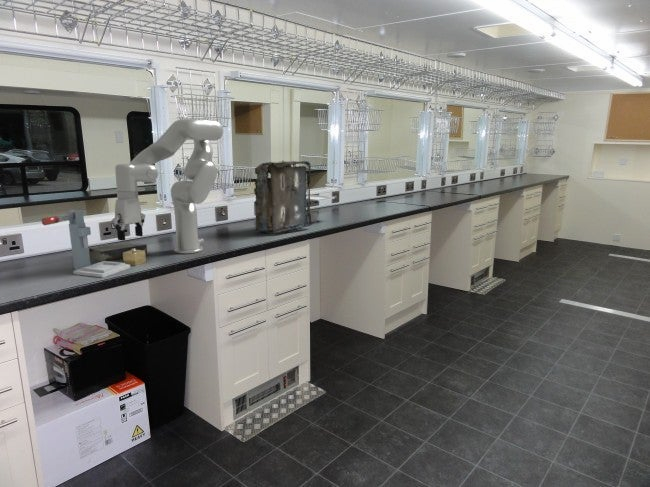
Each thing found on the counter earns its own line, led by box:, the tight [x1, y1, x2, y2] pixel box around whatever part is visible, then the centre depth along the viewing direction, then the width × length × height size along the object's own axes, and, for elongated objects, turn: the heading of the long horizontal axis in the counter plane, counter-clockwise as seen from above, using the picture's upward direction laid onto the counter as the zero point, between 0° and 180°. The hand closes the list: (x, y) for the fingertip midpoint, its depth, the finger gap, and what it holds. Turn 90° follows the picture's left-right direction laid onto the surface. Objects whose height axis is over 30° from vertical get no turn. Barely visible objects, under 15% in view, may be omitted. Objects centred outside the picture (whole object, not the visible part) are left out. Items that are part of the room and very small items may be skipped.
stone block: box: [88, 241, 148, 262], centre depth 198 cm, size 14×20×5 cm
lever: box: [41, 213, 76, 226], centre depth 168 cm, size 15×3×3 cm, turn 161°
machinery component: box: [253, 160, 312, 235], centre depth 245 cm, size 33×18×38 cm, turn 133°
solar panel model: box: [306, 193, 336, 223], centre depth 279 cm, size 28×17×15 cm, turn 53°
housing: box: [123, 248, 147, 267], centre depth 185 cm, size 6×6×6 cm
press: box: [67, 209, 131, 278], centre depth 173 cm, size 14×19×23 cm
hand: (130, 237), depth 183 cm, fingers open, 9 cm apart
